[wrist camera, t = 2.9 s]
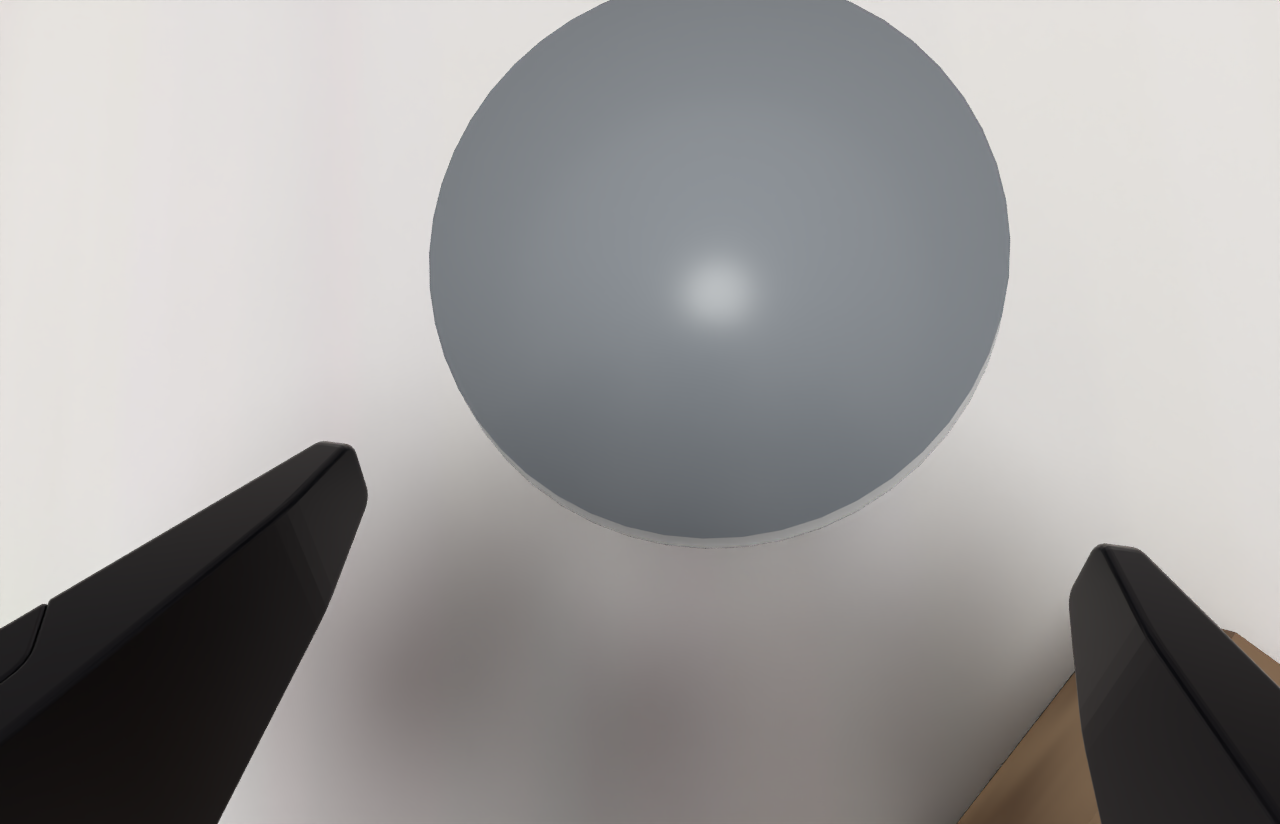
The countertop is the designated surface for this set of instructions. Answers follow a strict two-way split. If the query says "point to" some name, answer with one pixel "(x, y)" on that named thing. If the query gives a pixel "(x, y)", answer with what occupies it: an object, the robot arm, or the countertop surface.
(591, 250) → the grey bottle
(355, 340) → the countertop surface
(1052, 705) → the stand
